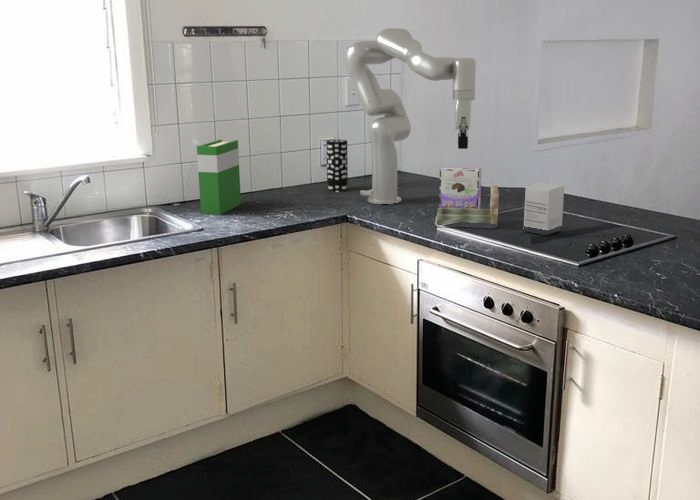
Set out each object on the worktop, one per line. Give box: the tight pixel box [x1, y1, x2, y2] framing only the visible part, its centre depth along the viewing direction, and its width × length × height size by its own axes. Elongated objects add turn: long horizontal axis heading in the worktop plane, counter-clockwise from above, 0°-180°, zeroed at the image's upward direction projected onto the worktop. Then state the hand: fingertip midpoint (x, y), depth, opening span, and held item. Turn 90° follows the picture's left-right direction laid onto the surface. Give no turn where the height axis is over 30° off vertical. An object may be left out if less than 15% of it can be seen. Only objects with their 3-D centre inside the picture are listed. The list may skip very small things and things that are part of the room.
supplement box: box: [523, 182, 565, 231], centre depth 238 cm, size 9×9×15 cm
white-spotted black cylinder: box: [326, 139, 349, 193], centre depth 304 cm, size 8×8×20 cm
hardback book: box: [196, 139, 242, 216], centre depth 272 cm, size 18×7×24 cm, turn 163°
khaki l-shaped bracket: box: [434, 185, 500, 226], centre depth 249 cm, size 20×12×12 cm, turn 82°
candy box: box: [438, 166, 482, 209], centre depth 262 cm, size 14×6×16 cm, turn 71°
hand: (462, 146), depth 258 cm, fingers open, 9 cm apart
